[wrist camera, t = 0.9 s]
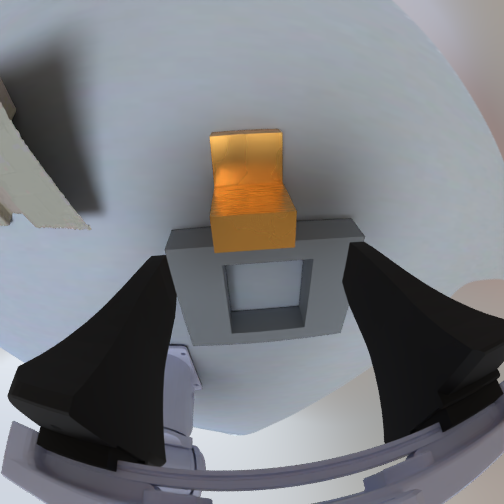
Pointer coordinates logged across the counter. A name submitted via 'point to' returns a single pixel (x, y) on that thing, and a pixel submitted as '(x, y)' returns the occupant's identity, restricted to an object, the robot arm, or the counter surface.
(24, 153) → the beige footed plank
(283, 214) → the wooden step block
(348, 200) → the counter surface
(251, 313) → the well block
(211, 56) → the counter surface
